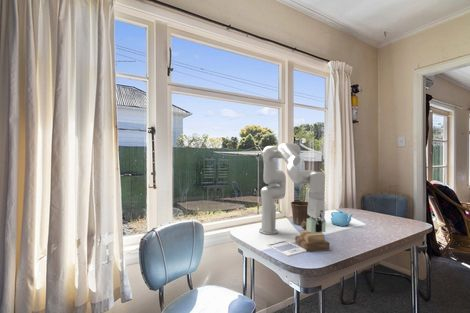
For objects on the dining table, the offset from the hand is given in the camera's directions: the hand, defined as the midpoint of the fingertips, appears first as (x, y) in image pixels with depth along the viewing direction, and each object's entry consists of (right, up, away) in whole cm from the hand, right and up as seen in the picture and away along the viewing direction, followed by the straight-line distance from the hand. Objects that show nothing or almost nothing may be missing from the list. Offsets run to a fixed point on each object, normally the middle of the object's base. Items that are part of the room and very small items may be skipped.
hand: (315, 229), depth 130 cm
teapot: (+40, -15, +61) cm, 75 cm away
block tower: (+3, -14, +16) cm, 21 cm away
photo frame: (-13, -15, +12) cm, 23 cm away
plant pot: (+9, -14, +63) cm, 65 cm away
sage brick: (0, -1, 0) cm, 1 cm away
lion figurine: (+8, -14, +34) cm, 38 cm away
